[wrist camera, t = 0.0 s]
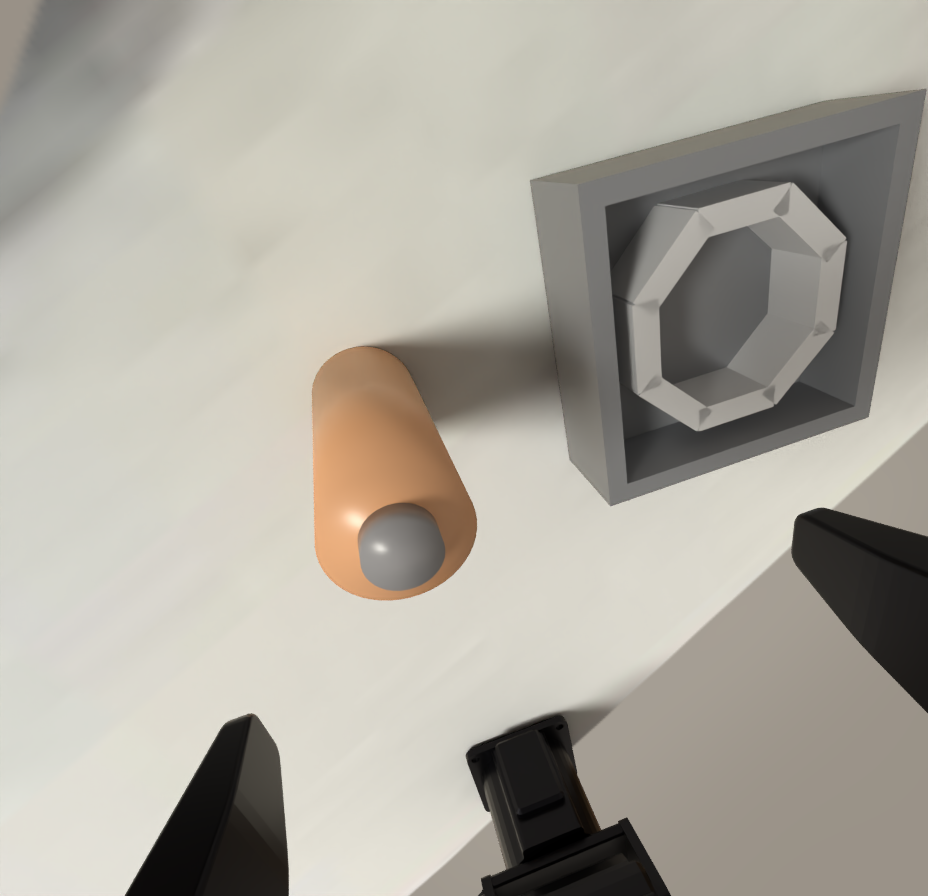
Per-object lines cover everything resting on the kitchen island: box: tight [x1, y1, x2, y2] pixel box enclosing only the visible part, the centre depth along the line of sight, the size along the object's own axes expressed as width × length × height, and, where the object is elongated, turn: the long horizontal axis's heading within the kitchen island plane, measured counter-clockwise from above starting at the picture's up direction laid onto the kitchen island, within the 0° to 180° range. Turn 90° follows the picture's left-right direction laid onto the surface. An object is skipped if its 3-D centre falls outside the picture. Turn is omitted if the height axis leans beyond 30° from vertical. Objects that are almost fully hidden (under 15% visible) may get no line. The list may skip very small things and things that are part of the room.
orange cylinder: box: [312, 347, 477, 600], centre depth 17 cm, size 4×4×10 cm
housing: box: [530, 89, 926, 506], centre depth 22 cm, size 12×12×4 cm
